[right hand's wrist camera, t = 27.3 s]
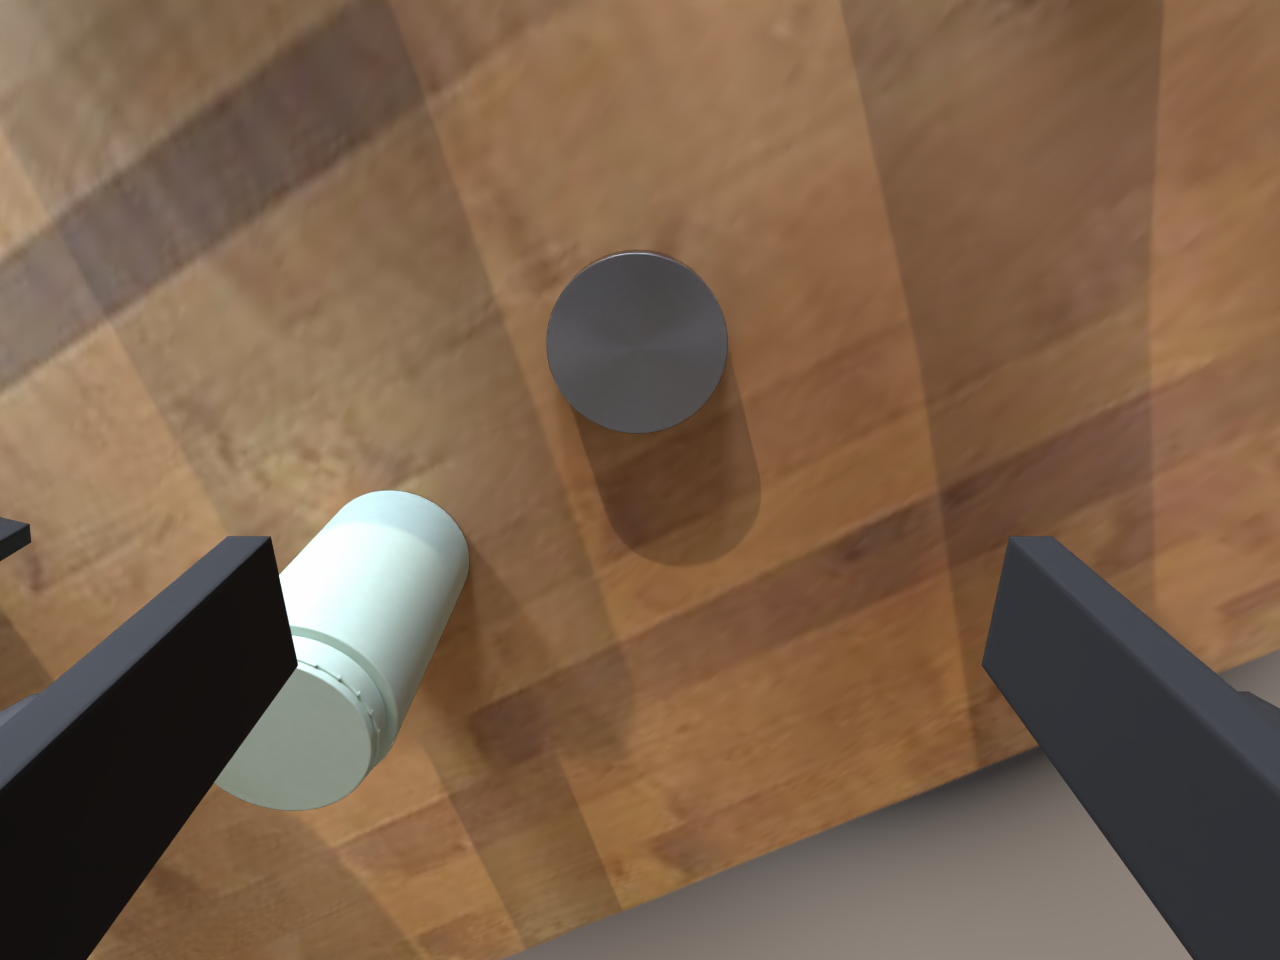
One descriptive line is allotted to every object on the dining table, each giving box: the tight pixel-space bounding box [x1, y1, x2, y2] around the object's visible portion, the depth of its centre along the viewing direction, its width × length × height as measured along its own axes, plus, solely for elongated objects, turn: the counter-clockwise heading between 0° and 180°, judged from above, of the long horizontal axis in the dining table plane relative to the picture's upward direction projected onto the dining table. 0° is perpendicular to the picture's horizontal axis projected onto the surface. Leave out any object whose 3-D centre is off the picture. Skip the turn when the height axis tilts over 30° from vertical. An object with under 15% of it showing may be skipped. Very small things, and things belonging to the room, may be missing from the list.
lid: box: [547, 250, 728, 434], centre depth 36 cm, size 9×9×2 cm
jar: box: [214, 491, 469, 811], centre depth 35 cm, size 8×8×15 cm
